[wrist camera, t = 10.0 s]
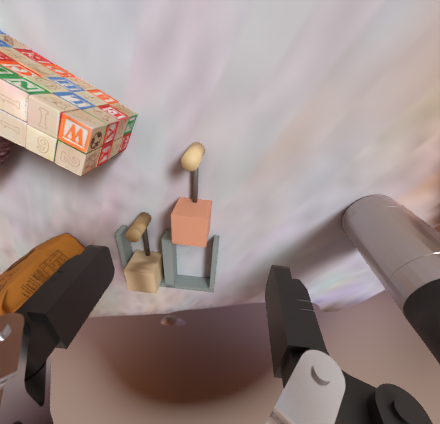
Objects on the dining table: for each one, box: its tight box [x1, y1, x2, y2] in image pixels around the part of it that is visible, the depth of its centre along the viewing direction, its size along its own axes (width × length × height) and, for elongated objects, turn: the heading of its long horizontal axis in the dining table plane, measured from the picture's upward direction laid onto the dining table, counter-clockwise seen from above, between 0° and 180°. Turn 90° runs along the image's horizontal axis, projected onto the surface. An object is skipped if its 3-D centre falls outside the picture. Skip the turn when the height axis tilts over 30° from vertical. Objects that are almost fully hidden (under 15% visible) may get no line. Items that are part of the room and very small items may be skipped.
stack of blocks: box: [0, 31, 137, 176], centre depth 26 cm, size 21×6×12 cm, turn 59°
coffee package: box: [0, 233, 85, 316], centre depth 39 cm, size 10×12×22 cm
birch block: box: [124, 212, 164, 293], centre depth 43 cm, size 6×16×6 cm, turn 175°
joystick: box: [171, 142, 212, 247], centre depth 35 cm, size 6×16×6 cm, turn 175°
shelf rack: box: [115, 225, 219, 292], centre depth 46 cm, size 20×14×3 cm
